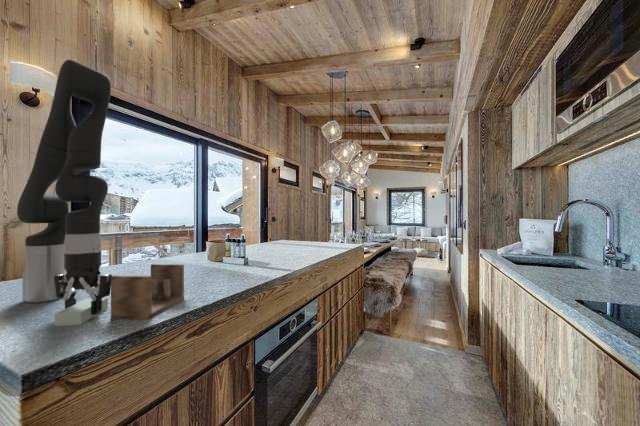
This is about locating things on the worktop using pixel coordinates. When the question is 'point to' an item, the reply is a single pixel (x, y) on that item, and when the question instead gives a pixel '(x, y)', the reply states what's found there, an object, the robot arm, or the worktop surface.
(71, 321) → the shelf board
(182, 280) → the peg cradle
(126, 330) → the worktop surface
